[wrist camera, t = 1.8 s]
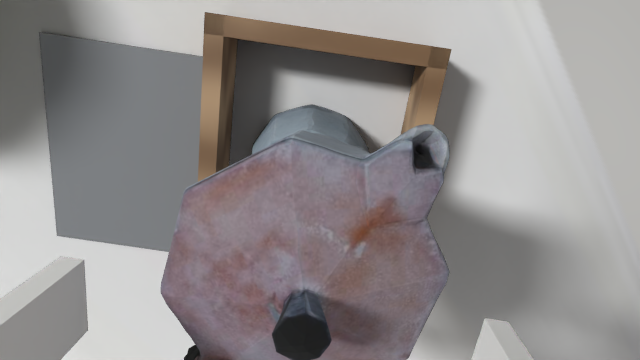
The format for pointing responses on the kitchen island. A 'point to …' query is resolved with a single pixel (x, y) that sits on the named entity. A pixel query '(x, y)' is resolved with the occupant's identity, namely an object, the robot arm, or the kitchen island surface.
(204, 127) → the brown wooden frame
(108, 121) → the mat
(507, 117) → the kitchen island surface
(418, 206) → the moka pot
